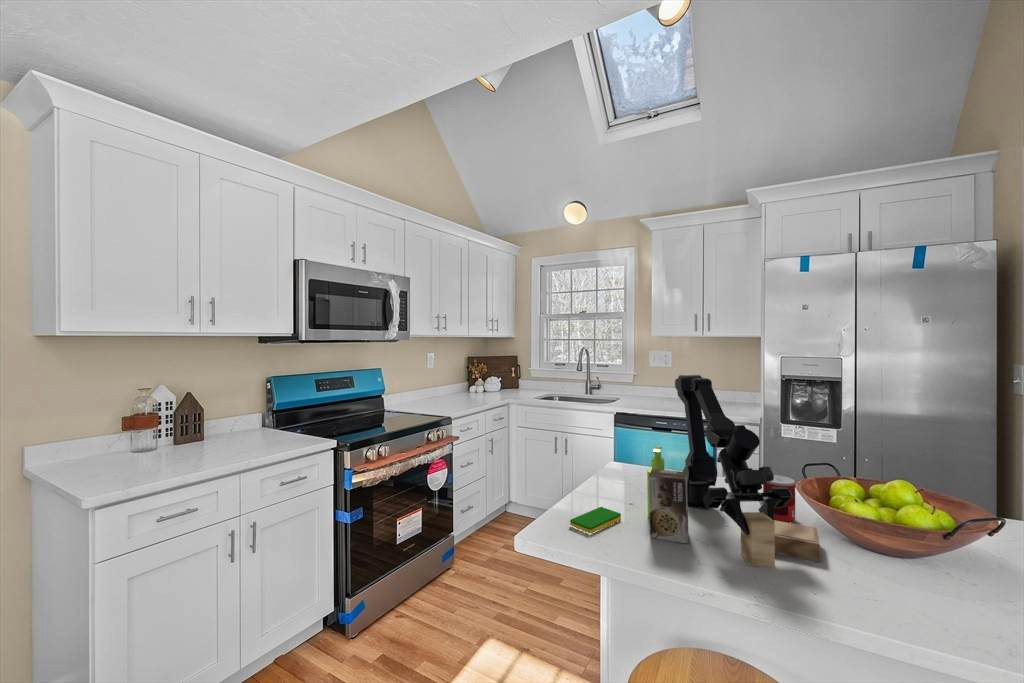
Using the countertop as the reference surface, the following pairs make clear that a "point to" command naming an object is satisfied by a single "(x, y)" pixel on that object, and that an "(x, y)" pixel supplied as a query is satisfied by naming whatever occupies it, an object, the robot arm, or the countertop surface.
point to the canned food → (789, 510)
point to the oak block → (758, 540)
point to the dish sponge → (595, 519)
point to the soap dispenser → (655, 467)
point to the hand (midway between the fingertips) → (760, 534)
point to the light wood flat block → (797, 540)
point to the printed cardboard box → (668, 505)
